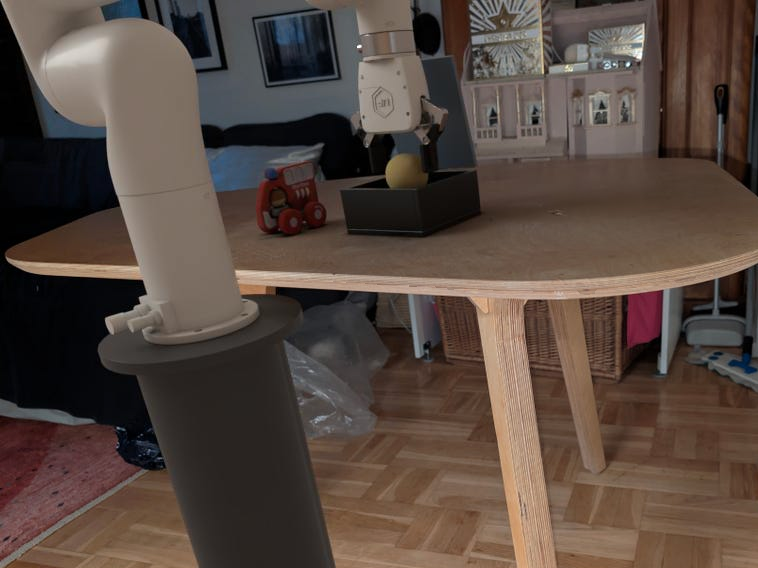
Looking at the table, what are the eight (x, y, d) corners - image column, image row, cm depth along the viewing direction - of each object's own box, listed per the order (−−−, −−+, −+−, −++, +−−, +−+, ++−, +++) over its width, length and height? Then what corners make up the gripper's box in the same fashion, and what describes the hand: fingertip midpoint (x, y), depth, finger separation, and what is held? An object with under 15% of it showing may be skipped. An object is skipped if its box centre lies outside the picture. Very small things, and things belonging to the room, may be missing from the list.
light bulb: (428, 223, 105) (418, 154, 101) (387, 226, 106) (376, 158, 102) (438, 214, 110) (429, 148, 107) (399, 217, 112) (389, 152, 108)
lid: (451, 56, 100) (469, 47, 103) (373, 66, 108) (392, 57, 111) (475, 167, 109) (491, 156, 112) (401, 169, 116) (418, 158, 120)
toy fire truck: (250, 238, 113) (234, 172, 109) (308, 220, 122) (296, 159, 118) (277, 240, 109) (262, 172, 105) (336, 222, 118) (324, 158, 114)
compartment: (423, 237, 100) (416, 189, 97) (347, 234, 108) (339, 189, 105) (481, 213, 112) (476, 169, 109) (409, 212, 119) (403, 171, 117)
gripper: (325, 55, 100) (345, 177, 107) (421, 41, 91) (436, 175, 98) (360, 53, 106) (377, 169, 113) (453, 40, 97) (466, 167, 103)
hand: (404, 172), depth 105 cm, fingers open, 9 cm apart
